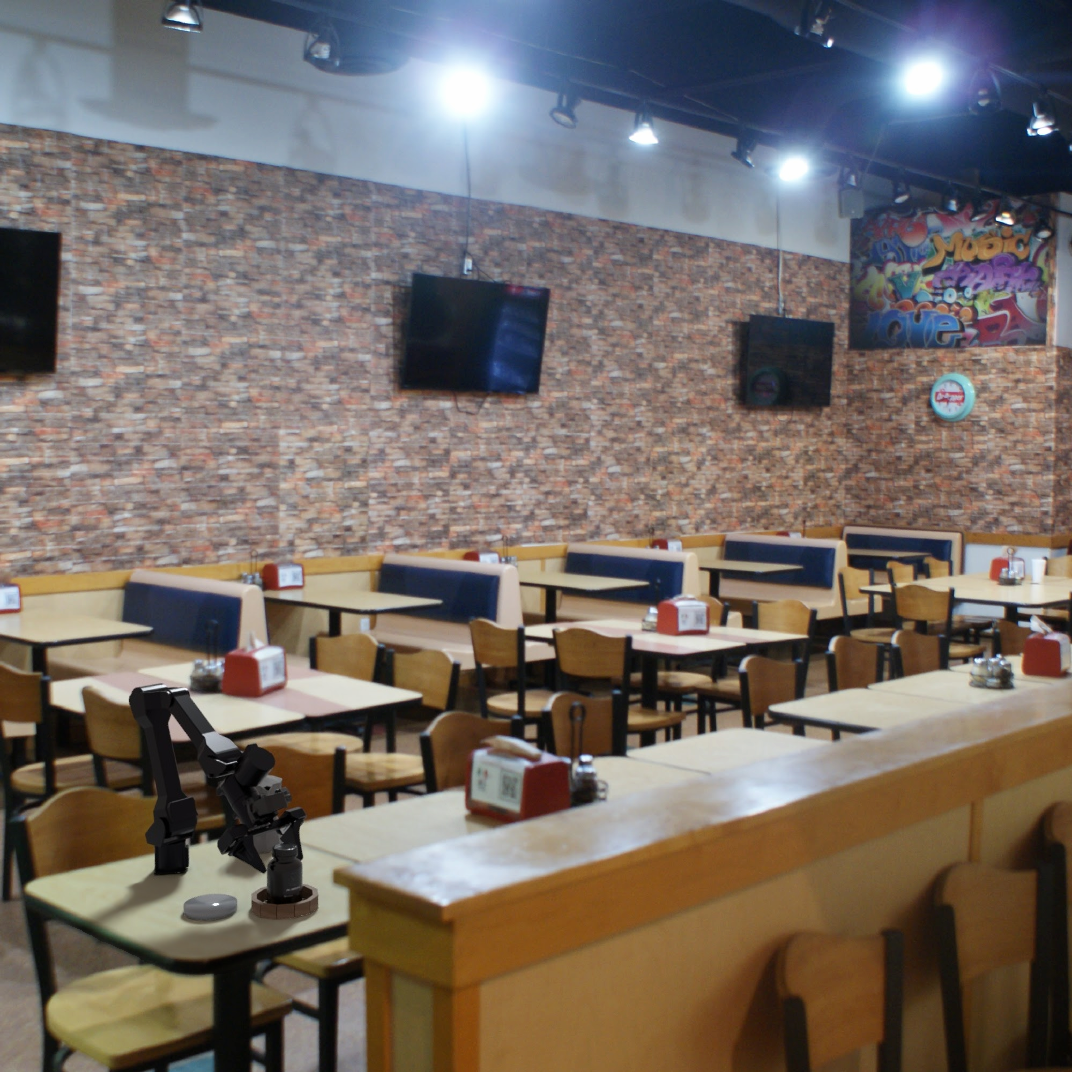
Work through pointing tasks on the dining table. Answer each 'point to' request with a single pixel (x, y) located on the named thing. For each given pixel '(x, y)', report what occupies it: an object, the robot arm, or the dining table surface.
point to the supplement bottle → (284, 875)
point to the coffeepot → (272, 838)
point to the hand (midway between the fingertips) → (283, 865)
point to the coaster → (210, 907)
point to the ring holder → (284, 909)
